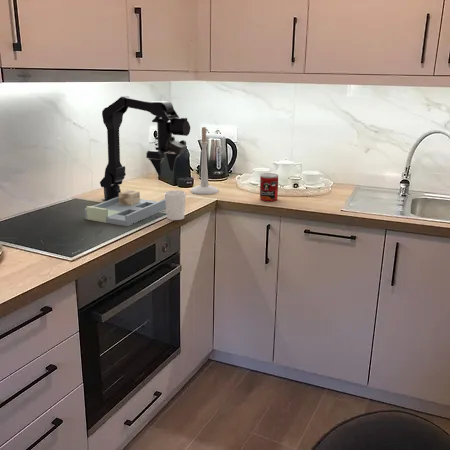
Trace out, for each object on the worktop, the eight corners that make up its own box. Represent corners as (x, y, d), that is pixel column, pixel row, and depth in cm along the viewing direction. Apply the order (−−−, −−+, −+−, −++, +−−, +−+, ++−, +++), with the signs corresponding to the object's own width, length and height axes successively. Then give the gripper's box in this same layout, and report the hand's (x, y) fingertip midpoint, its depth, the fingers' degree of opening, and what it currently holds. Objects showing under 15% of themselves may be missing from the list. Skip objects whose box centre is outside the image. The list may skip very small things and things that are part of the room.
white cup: (180, 221, 192) (179, 196, 189) (161, 219, 194) (160, 194, 191) (189, 216, 199) (188, 191, 196) (170, 214, 201) (170, 189, 198)
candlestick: (219, 188, 242) (218, 124, 233) (217, 195, 230) (217, 128, 221) (192, 187, 243) (191, 124, 234) (189, 194, 231) (188, 127, 222)
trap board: (85, 219, 195) (84, 206, 193) (129, 201, 218) (128, 190, 217) (127, 226, 186) (127, 213, 185) (168, 207, 210) (168, 195, 209)
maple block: (119, 203, 208) (118, 192, 207) (128, 200, 213) (127, 189, 212) (131, 205, 206) (130, 194, 204) (139, 201, 211) (139, 191, 209)
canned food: (257, 200, 221) (258, 175, 218) (263, 196, 228) (263, 172, 225) (274, 202, 218) (275, 177, 215) (279, 198, 225) (280, 173, 222)
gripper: (169, 138, 190) (170, 179, 195) (193, 132, 206) (194, 170, 211) (144, 136, 195) (146, 176, 199) (170, 130, 210) (171, 168, 215)
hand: (165, 172), depth 206 cm, fingers open, 9 cm apart
